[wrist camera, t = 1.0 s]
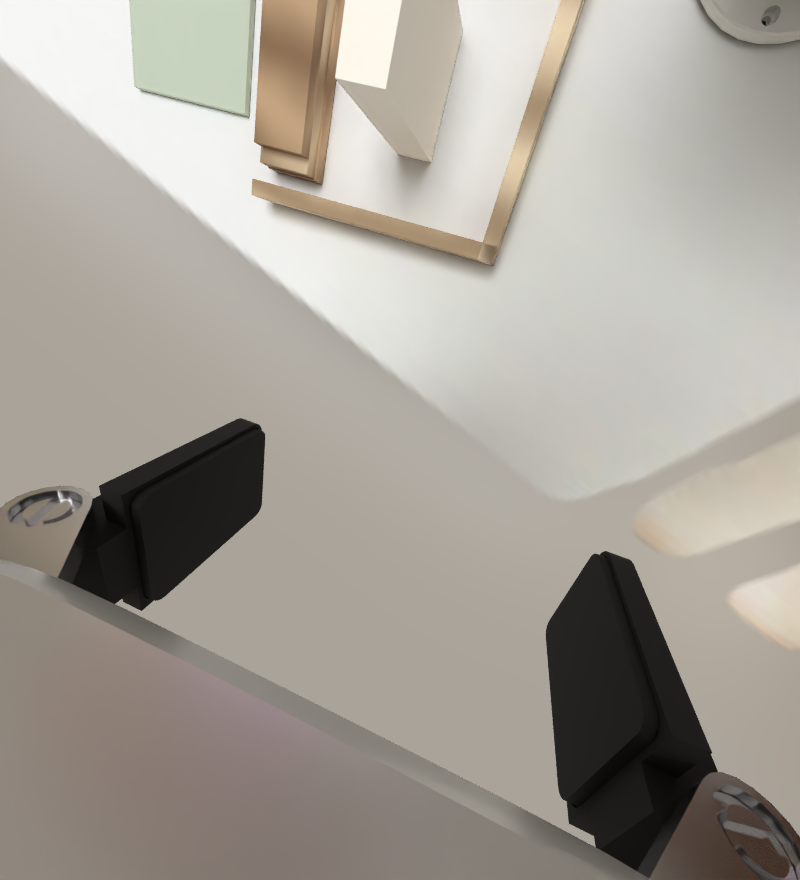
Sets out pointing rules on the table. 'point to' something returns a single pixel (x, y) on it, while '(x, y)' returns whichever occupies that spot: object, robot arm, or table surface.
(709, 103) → the table surface
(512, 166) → the frame
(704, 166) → the table surface
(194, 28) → the mat
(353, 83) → the cream rectangular block
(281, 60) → the offcut stack
